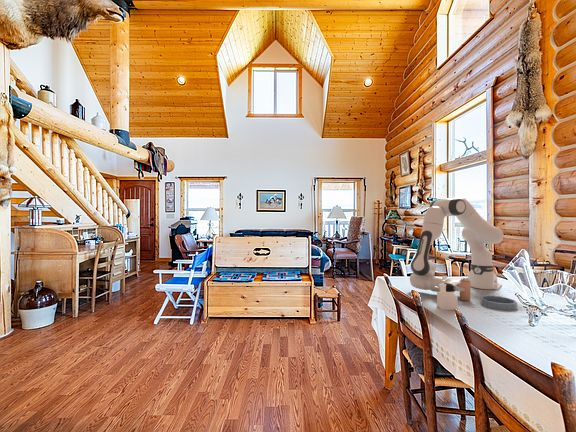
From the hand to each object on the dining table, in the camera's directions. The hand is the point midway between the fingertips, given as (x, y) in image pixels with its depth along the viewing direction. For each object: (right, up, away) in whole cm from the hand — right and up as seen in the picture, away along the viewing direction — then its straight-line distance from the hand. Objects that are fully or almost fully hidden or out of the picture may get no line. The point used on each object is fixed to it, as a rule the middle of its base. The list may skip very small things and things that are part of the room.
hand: (466, 288), depth 164 cm
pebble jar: (-1, -6, +1) cm, 6 cm away
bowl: (+10, -6, -10) cm, 15 cm away
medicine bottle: (-18, -7, -13) cm, 23 cm away
